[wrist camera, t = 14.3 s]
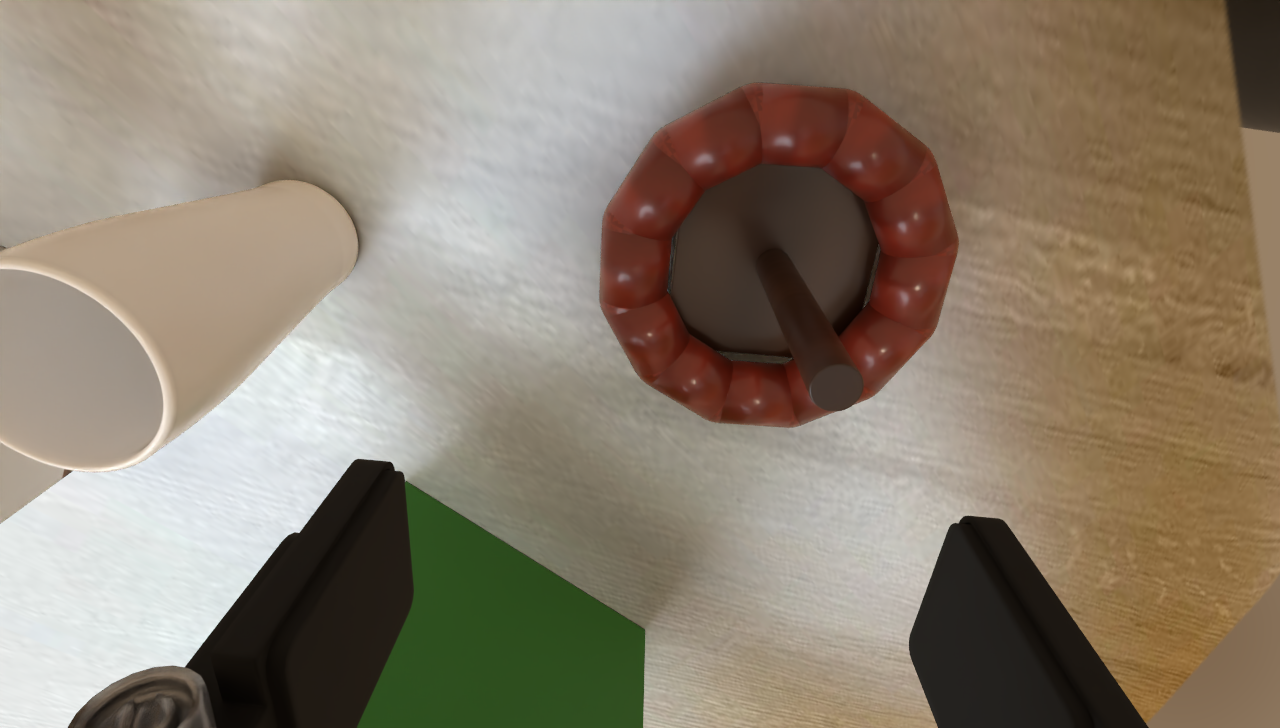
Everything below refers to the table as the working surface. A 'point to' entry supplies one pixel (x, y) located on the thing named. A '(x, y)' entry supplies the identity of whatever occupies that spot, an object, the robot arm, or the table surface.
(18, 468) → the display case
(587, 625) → the hardback book
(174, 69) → the table surface
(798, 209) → the peg stand
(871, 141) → the ring
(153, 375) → the drinking glass
